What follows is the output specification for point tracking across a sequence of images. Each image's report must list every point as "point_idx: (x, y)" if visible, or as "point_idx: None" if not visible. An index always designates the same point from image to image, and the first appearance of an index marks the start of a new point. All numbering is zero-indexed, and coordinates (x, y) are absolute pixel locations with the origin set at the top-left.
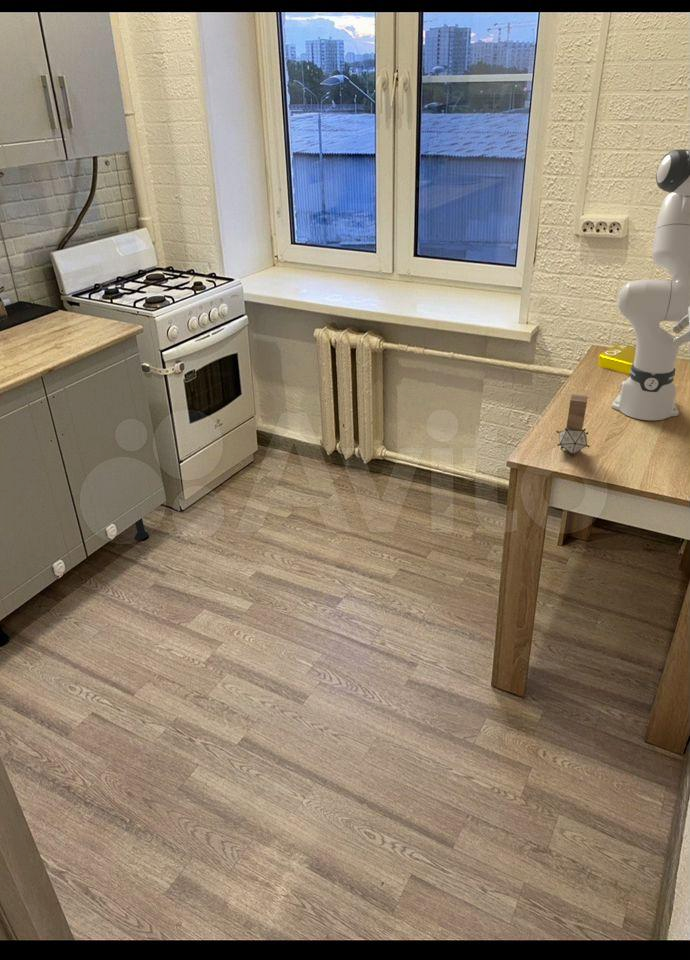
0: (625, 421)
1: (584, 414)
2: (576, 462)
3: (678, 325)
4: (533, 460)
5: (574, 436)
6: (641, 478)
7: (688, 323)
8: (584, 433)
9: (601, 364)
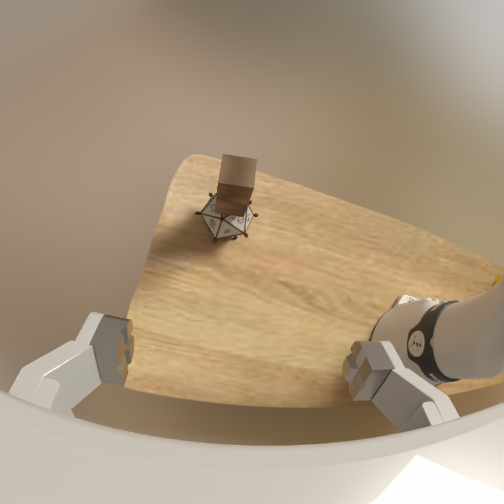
0: (361, 317)
1: (216, 197)
2: (189, 231)
3: (368, 369)
4: (186, 172)
5: (210, 207)
6: (152, 331)
7: (402, 426)
8: (220, 223)
9: (497, 280)
